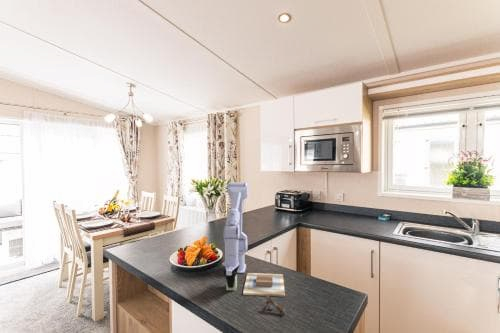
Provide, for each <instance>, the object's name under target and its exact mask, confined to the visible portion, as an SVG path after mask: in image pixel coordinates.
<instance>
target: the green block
mask: <svg viewBox="0 0 500 333" xmlns="http://www.w3.org/2000/svg"><path fill="white" fill-rule="evenodd" d="M225 284H226V285H225V286H226V288H225V289H226V290H225V291H234V292H235V291H237V286H238V273H237V274H236V276H235V281H234V286H233V288H228V284H227V280H226V279H225Z"/></svg>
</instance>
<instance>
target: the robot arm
mask: <svg viewBox="0 0 500 333" xmlns="http://www.w3.org/2000/svg"><path fill="white" fill-rule="evenodd" d="M226 188H227V190H226V191H227V196H229V199H230V210H228V211H227V214H226V215H227V216H226V222H225V226H224V227H223V243H224V262H223V261H222V264H221V265H222V266H223V267H225V268H224V271H223V275H224V277H225V281H226V280H227V284H228V288H233V286H234V281H235V276H236V274H237V275H238V274H245V272H246V269H247V264H246V263H245V259H246V257H245V256H246V254H245V253H246V252H247V251H248V245H249V244H248V236H247V234H245V232H243V210H244V208H243V206H244V204H243V203H244V200H246V199H247V198H248V191H249V189H248V188H249V187H248V182H242V181H241V182H237V181H234V182H232V181H229V182H228V183H227V186H226Z"/></svg>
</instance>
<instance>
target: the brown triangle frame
mask: <svg viewBox="0 0 500 333" xmlns="http://www.w3.org/2000/svg"><path fill="white" fill-rule="evenodd" d="M266 299H267V300H266V303H265V304H264V307H268V309H269V310H270V311H272V312H273V311H274V308H275V309H276V310H277V311H278V312H279V313H280V316H283V315H284V314H285V313H286V312H287V311H286V309H283V308H282V307H280V306H279V305H278V304H277V303H276V302H275V301H274V300H273V299H272V296H266ZM270 304H271V305H270Z"/></svg>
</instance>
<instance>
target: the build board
mask: <svg viewBox="0 0 500 333" xmlns="http://www.w3.org/2000/svg"><path fill="white" fill-rule="evenodd" d="M284 281H285V280H284V275H283V274H282V273H260V272H258V273H256V272H247V273H246V277H245V283H244V287H243V292H242V295H243V296H259V297H262V296H263V297H267V296H268V297H283V298H284V297H286V291H285V282H284Z"/></svg>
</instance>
